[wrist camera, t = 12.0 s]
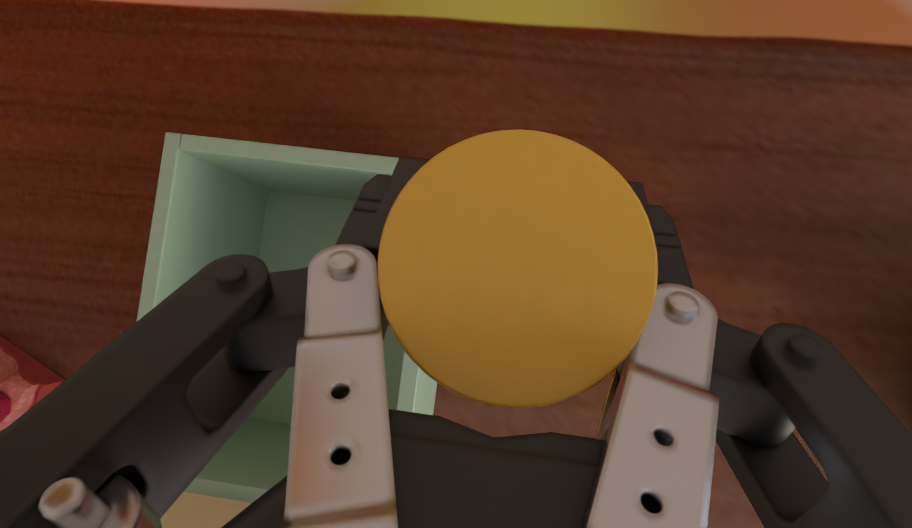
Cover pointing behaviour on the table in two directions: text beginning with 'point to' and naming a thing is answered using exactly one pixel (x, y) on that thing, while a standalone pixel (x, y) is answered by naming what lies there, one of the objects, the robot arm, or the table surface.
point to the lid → (201, 511)
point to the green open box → (281, 248)
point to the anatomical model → (21, 382)
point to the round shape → (517, 268)
